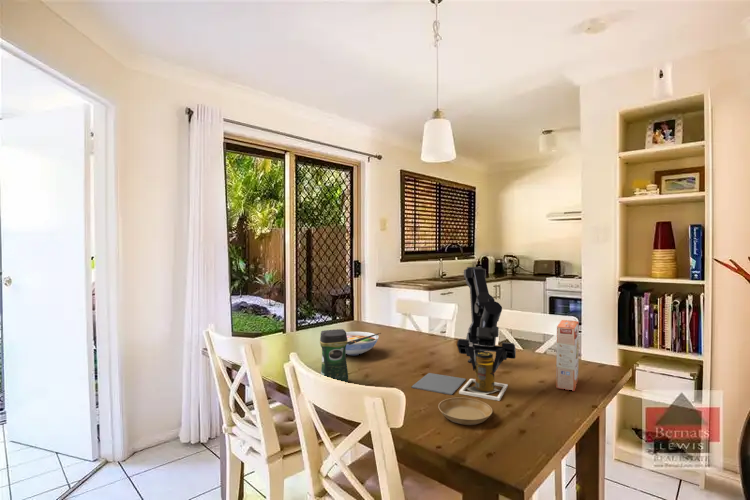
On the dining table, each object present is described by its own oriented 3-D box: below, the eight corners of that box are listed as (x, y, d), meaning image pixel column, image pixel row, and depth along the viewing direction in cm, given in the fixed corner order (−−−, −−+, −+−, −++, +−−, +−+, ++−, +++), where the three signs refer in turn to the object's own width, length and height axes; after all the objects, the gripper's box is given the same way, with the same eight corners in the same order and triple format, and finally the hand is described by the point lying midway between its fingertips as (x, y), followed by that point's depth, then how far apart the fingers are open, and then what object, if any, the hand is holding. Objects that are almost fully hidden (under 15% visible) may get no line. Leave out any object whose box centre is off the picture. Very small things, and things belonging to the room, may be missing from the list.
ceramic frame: (470, 380, 137) (470, 378, 137) (507, 386, 131) (507, 384, 131) (459, 393, 125) (459, 391, 125) (499, 400, 119) (499, 398, 119)
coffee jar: (345, 377, 142) (344, 326, 141) (350, 384, 134) (349, 331, 134) (318, 380, 139) (318, 328, 138) (322, 388, 131) (321, 333, 131)
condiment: (500, 390, 127) (499, 353, 127) (482, 396, 123) (481, 358, 123) (482, 384, 133) (482, 349, 133) (465, 389, 129) (464, 353, 129)
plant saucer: (502, 425, 103) (502, 416, 103) (450, 431, 100) (450, 421, 100) (477, 404, 117) (476, 395, 117) (430, 408, 114) (430, 399, 114)
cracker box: (576, 392, 125) (575, 327, 125) (555, 388, 128) (555, 325, 128) (579, 379, 137) (579, 320, 137) (560, 376, 140) (560, 319, 140)
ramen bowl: (351, 344, 190) (351, 327, 190) (390, 351, 177) (390, 333, 177) (315, 355, 170) (315, 337, 170) (356, 364, 157) (356, 344, 157)
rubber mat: (428, 373, 145) (428, 372, 145) (465, 379, 138) (465, 378, 138) (411, 387, 131) (411, 386, 131) (451, 395, 124) (451, 393, 124)
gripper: (457, 315, 135) (451, 355, 125) (514, 318, 127) (512, 361, 117) (462, 333, 142) (456, 372, 132) (516, 337, 135) (514, 379, 125)
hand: (483, 371), depth 126 cm, fingers closed on condiment, 6 cm apart
